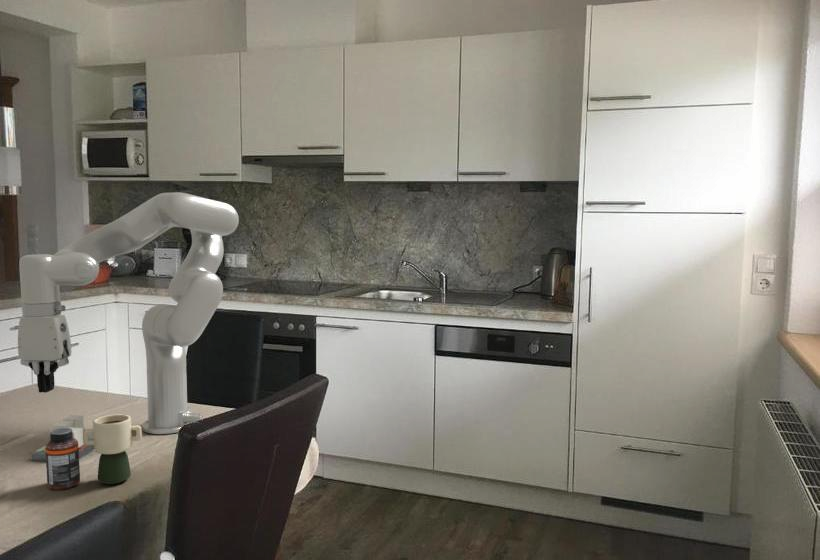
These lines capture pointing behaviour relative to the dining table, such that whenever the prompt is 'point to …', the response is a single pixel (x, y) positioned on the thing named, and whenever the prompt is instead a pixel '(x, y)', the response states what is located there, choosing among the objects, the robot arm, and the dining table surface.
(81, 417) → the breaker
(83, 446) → the panel
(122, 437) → the character mug
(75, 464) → the supplement bottle
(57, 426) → the block
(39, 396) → the dining table surface
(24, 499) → the dining table surface
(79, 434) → the block
